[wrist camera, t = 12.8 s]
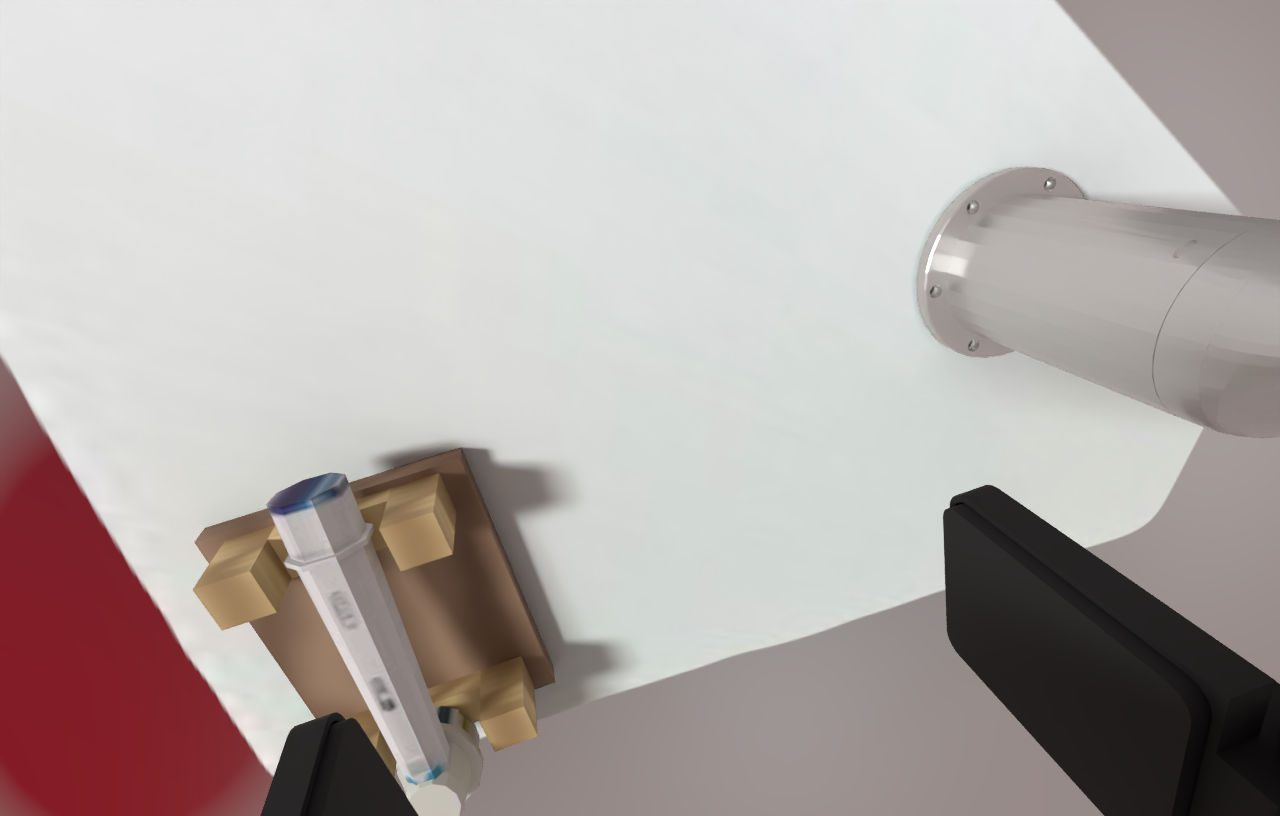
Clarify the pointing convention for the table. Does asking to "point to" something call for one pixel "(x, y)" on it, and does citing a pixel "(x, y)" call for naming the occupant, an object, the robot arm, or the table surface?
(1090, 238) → the robot arm
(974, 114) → the table surface
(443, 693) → the rack
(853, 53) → the table surface
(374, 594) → the electric toothbrush handle
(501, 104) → the table surface
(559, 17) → the table surface
